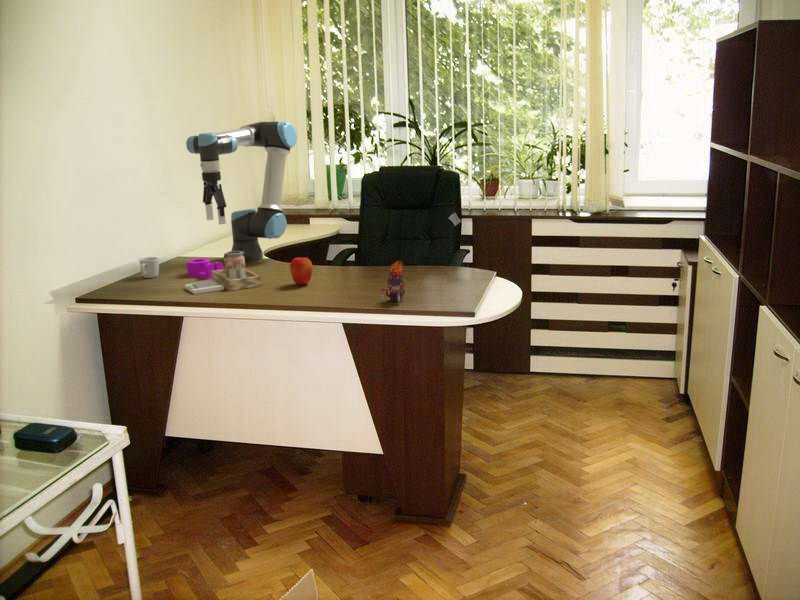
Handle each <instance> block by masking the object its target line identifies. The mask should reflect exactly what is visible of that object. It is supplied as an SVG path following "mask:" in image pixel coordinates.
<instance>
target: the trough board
mask: <svg viewBox="0 0 800 600" xmlns="http://www.w3.org/2000/svg"><path fill="white" fill-rule="evenodd" d="M211 272H212V278H211V279H210V280H212V281H217V282H218V283H220V284H221V285H223V286H224V290H227V291H229V292H230V291H236V290H237V291H238V290H242V289H248V288H256V287H263V283H262V280H261V276H260V275H258V274H257V273H254V272H252V271H250V270H248V269H246V278H241V279H234V280H230V279H228V278H226V272H225V268H223V270H216V271H211Z"/></svg>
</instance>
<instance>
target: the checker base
mask: <svg viewBox="0 0 800 600" xmlns="http://www.w3.org/2000/svg"><path fill="white" fill-rule="evenodd" d="M214 282H215V283H217V286H212V287H206V288H199V289H197V288H195V287H194V286H192V285H191V283H187V284H185V285H184V288H185V289H186V290H187V291H189V292H190V293H192V294H193V295H197V294H204V293H210V292H211V293H212V292H217V291H224V290H225V288H224V286H223V285H221V284H220V283H218V282H217V281H214Z"/></svg>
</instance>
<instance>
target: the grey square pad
mask: <svg viewBox="0 0 800 600" xmlns="http://www.w3.org/2000/svg"><path fill="white" fill-rule="evenodd" d="M190 284H191V285H192V286H194V287H195V288H197V289H199V288H206V287H212V286H217V283H215V282H214V281H212V280H211V279H206V280H200V281H193V282H192V281H191V282H190Z"/></svg>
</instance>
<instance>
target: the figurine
mask: <svg viewBox="0 0 800 600" xmlns="http://www.w3.org/2000/svg"><path fill="white" fill-rule="evenodd" d="M403 273H404V266H403V261H396V262H394V263H392V264H391V265H390V272H389V274H388V279H387V288H384V287H381V289H380V291H381V296H379V297H378V299H380V300H385V296H386V297H387V298H389V299H390V300H392V301H391V302H401V301H402V300H403V296H404V295H405V293H406V292H405V287H404V286H405V283H404V280H403V278H404V274H403ZM395 287H399V288H398V289H395ZM384 291H385V292H384ZM401 299H402V300H401ZM390 300H389V301H390Z"/></svg>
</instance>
